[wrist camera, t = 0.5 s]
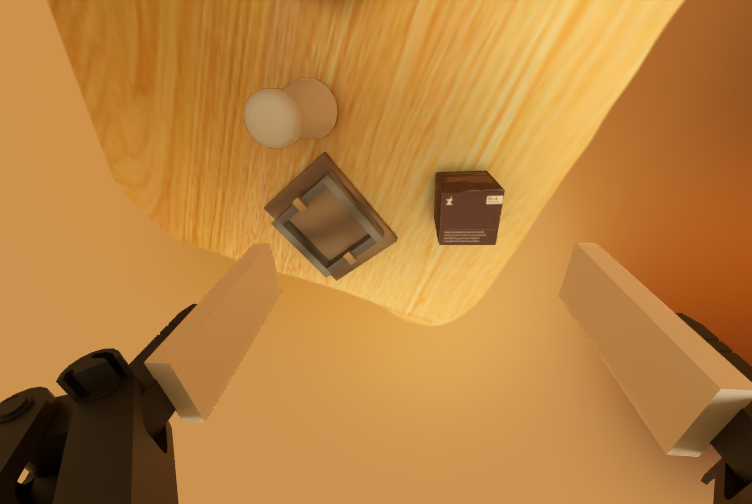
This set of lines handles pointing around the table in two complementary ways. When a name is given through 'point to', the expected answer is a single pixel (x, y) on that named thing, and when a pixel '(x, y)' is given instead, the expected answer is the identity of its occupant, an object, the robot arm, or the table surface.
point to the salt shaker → (290, 113)
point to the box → (467, 208)
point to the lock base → (329, 220)
